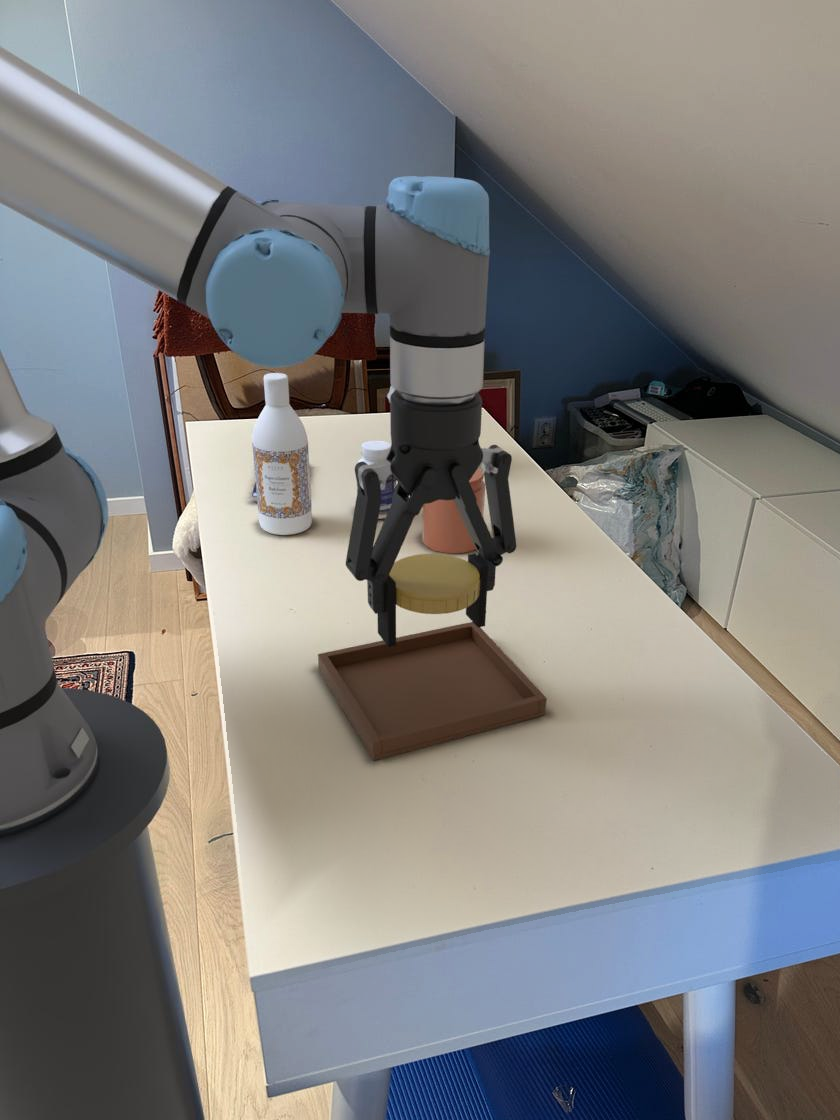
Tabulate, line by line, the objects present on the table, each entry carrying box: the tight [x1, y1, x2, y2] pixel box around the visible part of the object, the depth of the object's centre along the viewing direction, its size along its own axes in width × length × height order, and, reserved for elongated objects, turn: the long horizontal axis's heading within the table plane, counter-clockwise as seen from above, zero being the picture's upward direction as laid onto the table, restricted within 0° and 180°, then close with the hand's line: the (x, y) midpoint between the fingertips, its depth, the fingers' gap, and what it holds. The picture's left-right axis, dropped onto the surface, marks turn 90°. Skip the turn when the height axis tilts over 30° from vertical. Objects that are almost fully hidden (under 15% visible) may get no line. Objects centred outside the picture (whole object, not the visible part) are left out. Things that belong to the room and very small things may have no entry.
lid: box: [389, 553, 480, 615], centre depth 82 cm, size 9×9×2 cm
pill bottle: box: [356, 440, 397, 520], centre depth 122 cm, size 5×5×10 cm
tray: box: [317, 621, 548, 761], centre depth 88 cm, size 18×16×2 cm
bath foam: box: [251, 372, 313, 536], centre depth 114 cm, size 7×7×20 cm
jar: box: [421, 468, 486, 554], centre depth 116 cm, size 8×8×10 cm
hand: (432, 629), depth 84 cm, fingers closed on lid, 8 cm apart
